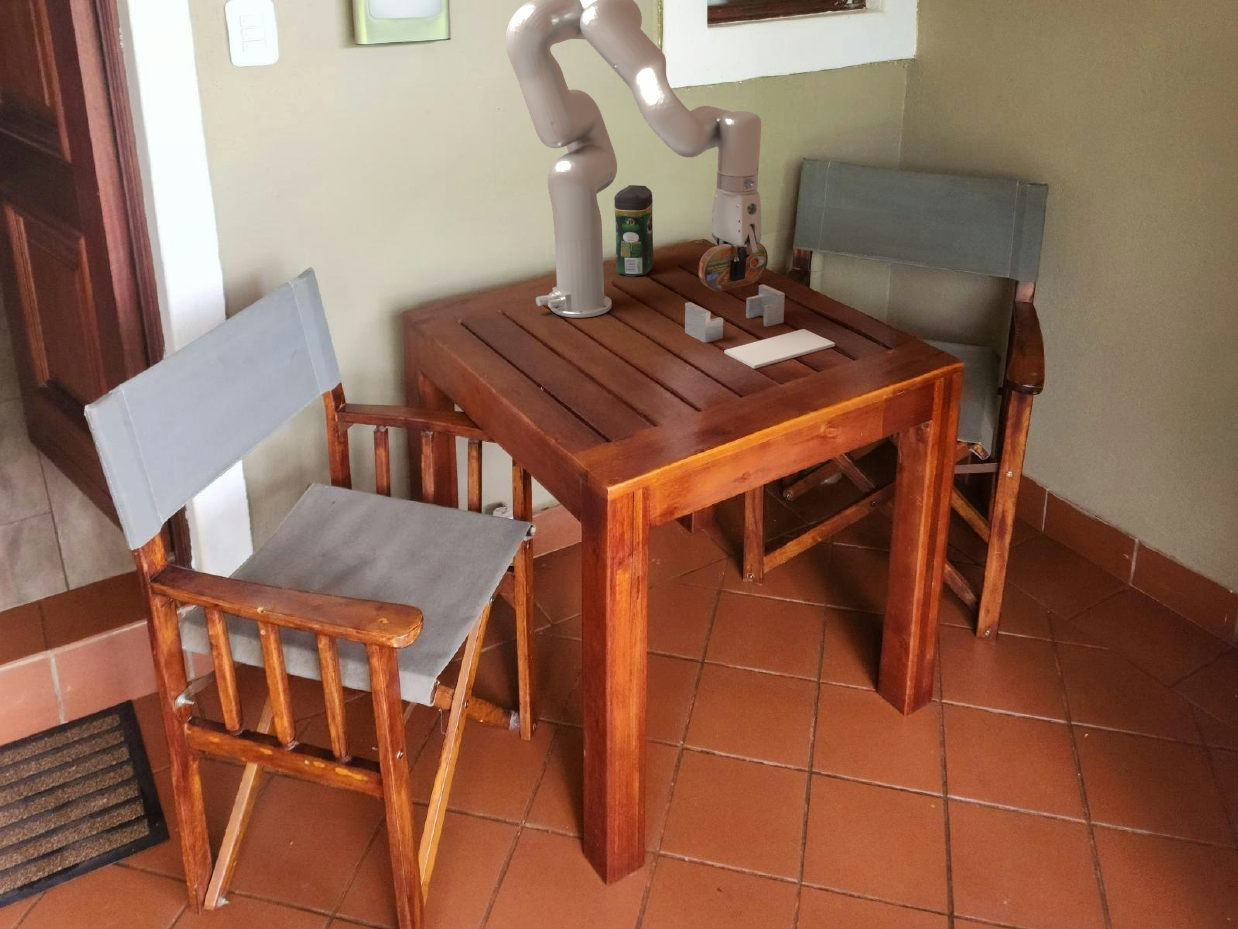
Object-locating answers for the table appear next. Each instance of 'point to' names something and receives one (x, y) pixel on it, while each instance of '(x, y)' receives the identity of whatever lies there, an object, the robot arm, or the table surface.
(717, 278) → the tin
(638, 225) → the coffee jar
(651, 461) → the table surface
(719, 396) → the table surface
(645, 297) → the table surface
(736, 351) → the mat
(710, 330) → the end brackets
